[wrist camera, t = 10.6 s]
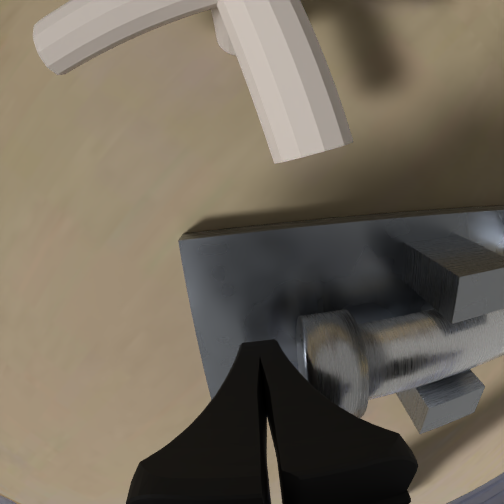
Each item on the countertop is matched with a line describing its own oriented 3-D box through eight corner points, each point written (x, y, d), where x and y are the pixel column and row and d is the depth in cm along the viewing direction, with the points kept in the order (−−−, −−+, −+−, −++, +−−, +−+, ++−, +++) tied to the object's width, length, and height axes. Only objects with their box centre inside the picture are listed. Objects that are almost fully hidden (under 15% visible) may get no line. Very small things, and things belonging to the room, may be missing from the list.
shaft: (520, 320, 13) (562, 353, 9) (297, 379, 13) (315, 449, 9) (533, 254, 12) (584, 281, 8) (294, 296, 12) (318, 360, 8)
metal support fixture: (564, 314, 15) (600, 340, 10) (217, 407, 15) (213, 482, 10) (584, 202, 12) (629, 217, 8) (183, 234, 12) (151, 281, 7)
